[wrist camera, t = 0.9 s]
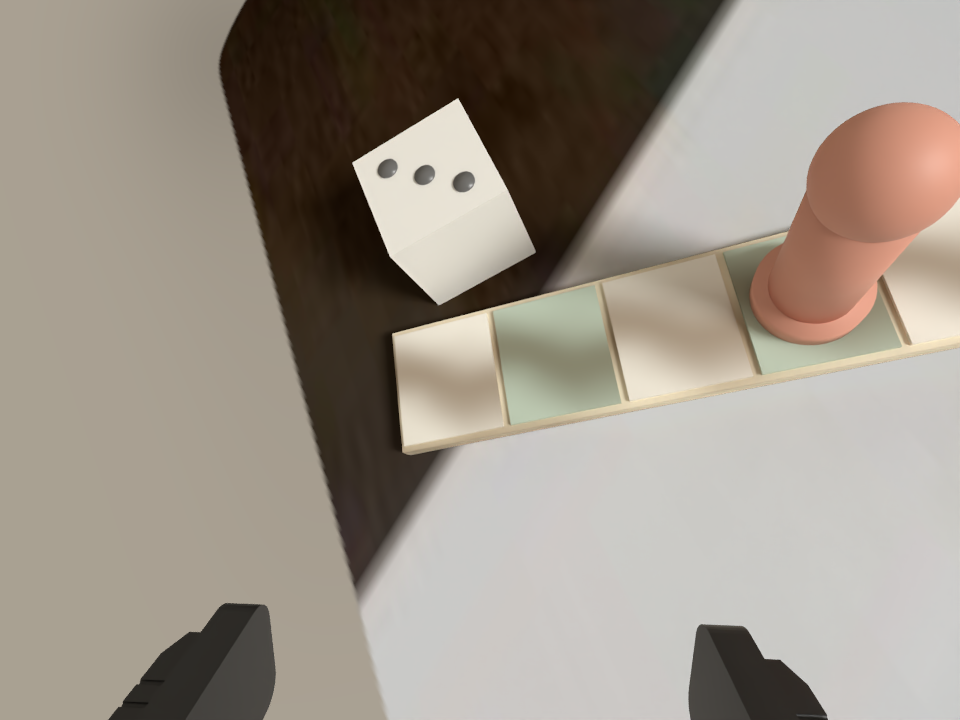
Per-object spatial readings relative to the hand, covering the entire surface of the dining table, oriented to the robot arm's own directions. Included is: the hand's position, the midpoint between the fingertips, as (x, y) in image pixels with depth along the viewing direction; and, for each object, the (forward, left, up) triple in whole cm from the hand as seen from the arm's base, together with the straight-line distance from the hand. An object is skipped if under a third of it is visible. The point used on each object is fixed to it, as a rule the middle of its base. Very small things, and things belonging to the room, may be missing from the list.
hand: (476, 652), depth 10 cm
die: (-20, -4, -17) cm, 26 cm away
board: (-11, +6, -17) cm, 21 cm away
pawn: (-11, +12, -16) cm, 23 cm away
